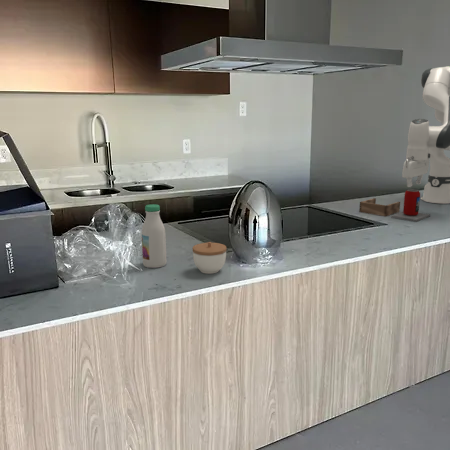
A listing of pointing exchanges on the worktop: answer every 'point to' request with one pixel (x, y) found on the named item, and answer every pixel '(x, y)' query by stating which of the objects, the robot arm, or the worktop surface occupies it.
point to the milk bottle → (153, 238)
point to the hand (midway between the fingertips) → (414, 185)
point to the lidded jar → (209, 257)
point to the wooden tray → (378, 208)
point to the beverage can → (411, 202)
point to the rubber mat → (410, 218)
